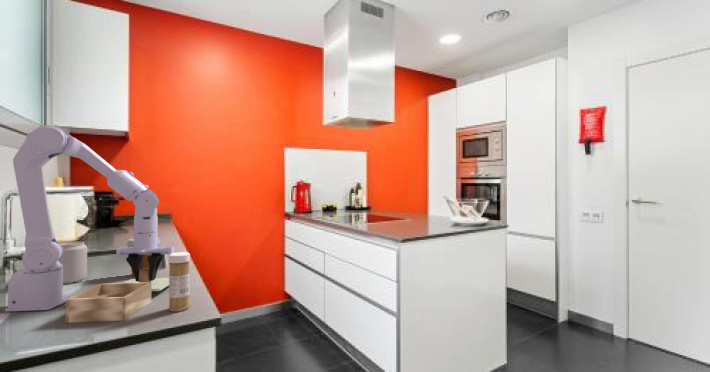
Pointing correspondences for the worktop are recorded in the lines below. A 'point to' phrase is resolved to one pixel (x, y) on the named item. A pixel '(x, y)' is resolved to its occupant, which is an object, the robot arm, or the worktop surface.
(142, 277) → the lid
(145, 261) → the disposable coffee cup
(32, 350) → the worktop surface
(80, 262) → the can
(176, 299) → the sprinkles bottle
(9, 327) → the worktop surface
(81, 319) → the box
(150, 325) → the worktop surface
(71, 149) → the robot arm
